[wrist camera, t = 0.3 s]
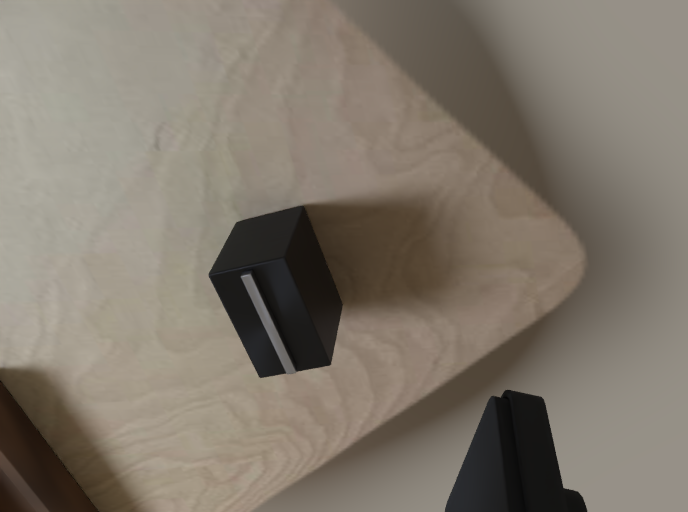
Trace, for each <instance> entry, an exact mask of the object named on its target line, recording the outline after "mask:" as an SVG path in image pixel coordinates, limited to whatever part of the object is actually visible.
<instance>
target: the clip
mask: <svg viewBox="0 0 688 512" xmlns="http://www.w3.org/2000/svg"><path fill="white" fill-rule="evenodd" d="M209 277H210V279H211V281H212V283H213V285H214V287H215V289H216V291H217V293H218V295H219V297H220V299H221V301H222V303H223V305H224V307H225V309H226V311H227V313H228V315H229V317H230V319H231V321H232V323H233V325H234V327H235V329H236V331H237V333H238V335H239V337H240V339H241V341H242V343H243V345H244V347H245V349H246V351H247V353H248V355H249V357H250V359H251V361H252V363H253V365H254V367H255V369H256V371H257V373H258V375H259V377H260V378H264V377H269V376H275V375H280V374H286V373H287V374H293V373H296V372H297V371H302V370H308V369H313V368H319V367H324V366H330V365H331V361H332V356H333V351H334V346H335V341H336V336H337V331H338V326H339V321H340V316H341V311H342V306H343V304H342V302H341V299H340V297H339V294H338V291H337V289H336V286H335V284H334V281H333V279H332V276H331V274H330V271H329V269H328V266H327V264H326V261H325V258H324V256H323V253H322V251H321V248H320V246H319V243H318V241H317V238H316V236H315V233H314V231H313V228H312V226H311V223H310V220H309V218H308V215H307V213H306V210H305V208H304V206H300V207H296V208H292V209H288V210H284V211H280V212H276V213H272V214H268V215H264V216H260V217H256V218H252V219H248V220H244V221H240V222H237V223H236V224H235V226H234V228H233V229H232V231H231V233H230V235H229V237H228V239H227V241H226V243H225V244H224V246H223V248H222V250H221V252H220V254H219V256H218V258H217V259H216V261H215V263H214V265H213V267H212V269H211V271H210V272H209Z"/></svg>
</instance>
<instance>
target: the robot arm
mask: <svg viewBox="0 0 688 512" xmlns="http://www.w3.org/2000/svg"><path fill="white" fill-rule="evenodd" d="M445 512H587V508H586V505H585V502H584V500H583V497H582V496H581V495H580V494H579V492H577V491H574V490H569V489H565V488H563V484H562V479H561V475H560V470H559V465H558V461H557V456H556V452H555V447H554V442H553V438H552V433H551V428H550V424H549V419H548V415H547V410H546V405H545V402H544V399H543V398H542V397H539V396H534V395H530V394H525V393H520V392H516V391H511V390H505V391H504V393H503V394H502V396H501V398H500V397H496V396H491V398H490V399H489V401H488V403H487V406H486V408H485V410H484V413H483V416H482V418H481V420H480V423H479V425H478V428H477V430H476V433H475V435H474V438H473V440H472V442H471V445H470V448H469V450H468V452H467V455H466V457H465V460H464V462H463V465H462V467H461V469H460V472H459V474H458V477H457V480H456V482H455V484H454V487H453V489H452V492H451V494H450V496H449V499H448V501H447V505H446V508H445Z"/></svg>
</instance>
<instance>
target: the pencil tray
mask: <svg viewBox="0 0 688 512" xmlns="http://www.w3.org/2000/svg"><path fill="white" fill-rule="evenodd" d="M0 512H98V511H97V510H96V508H95V507H94V506H93V504H92V503H91V502H90V500H89V499H88V498H87V496H86V495H85V494H84V492H83V491H82V490H81V488H80V487H79V486H78V484H77V483H76V482H75V480H74V479H73V478H72V476H71V475H70V474H69V472H68V471H67V470H66V468H65V467H64V466H63V464H62V463H61V462H60V460H59V459H58V458H57V456H56V455H55V454H54V452H53V451H52V450H51V448H50V447H49V446H48V444H47V443H46V442H45V440H44V439H43V437H42V436H41V435H40V433H39V432H38V431H37V429H36V428H35V427H34V425H33V424H32V423H31V421H30V420H29V419H28V417H27V416H26V415H25V413H24V412H23V411H22V409H21V408H20V407H19V405H18V404H17V403H16V401H15V400H14V399H13V397H12V396H11V395H10V393H9V392H8V391H7V389H6V388H5V387H4V385H3V384H2V383H1V381H0Z"/></svg>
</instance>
